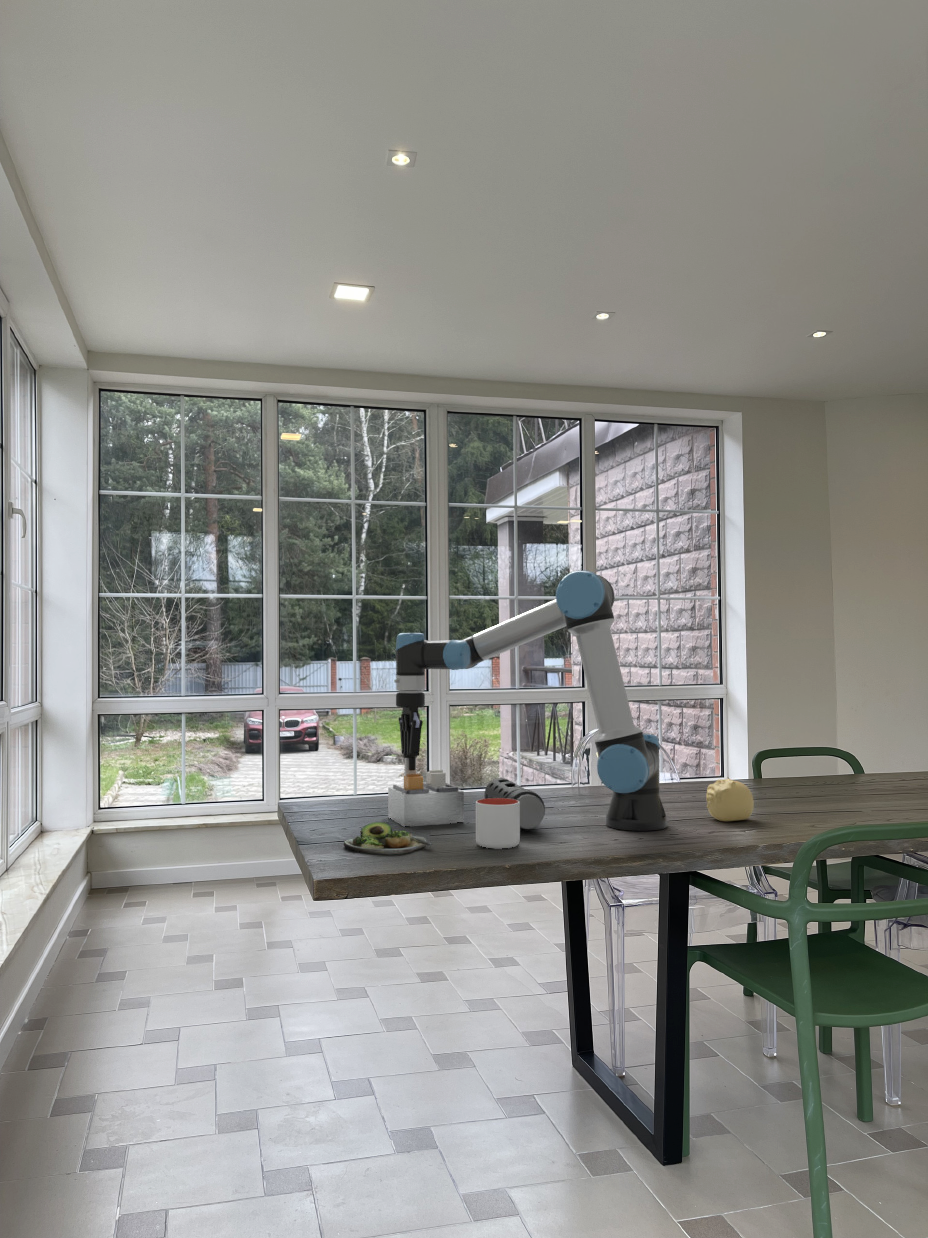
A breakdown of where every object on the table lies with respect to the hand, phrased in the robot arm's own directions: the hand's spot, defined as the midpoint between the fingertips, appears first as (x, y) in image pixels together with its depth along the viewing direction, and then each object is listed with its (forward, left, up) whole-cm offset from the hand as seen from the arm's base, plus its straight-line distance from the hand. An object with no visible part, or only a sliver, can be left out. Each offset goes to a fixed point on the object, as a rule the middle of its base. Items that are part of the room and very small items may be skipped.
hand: (410, 782), depth 241 cm
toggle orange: (-3, 0, -2) cm, 3 cm away
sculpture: (-30, -78, -10) cm, 84 cm away
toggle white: (+2, -8, -2) cm, 9 cm away
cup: (-37, -9, -10) cm, 39 cm away
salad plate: (-28, +15, -11) cm, 33 cm away
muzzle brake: (-15, -23, -10) cm, 29 cm away
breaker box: (-1, -4, -10) cm, 11 cm away
